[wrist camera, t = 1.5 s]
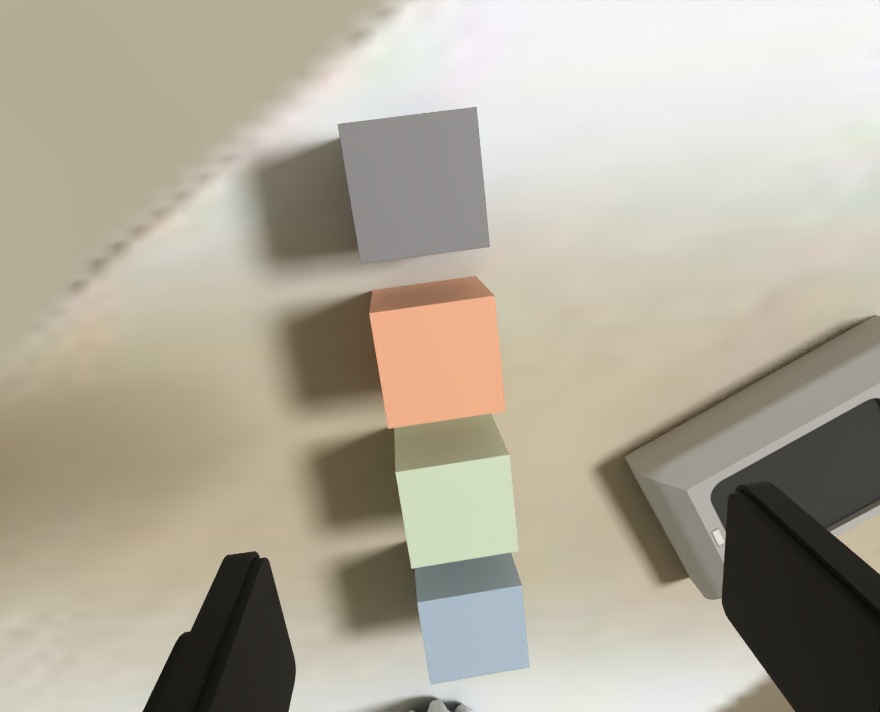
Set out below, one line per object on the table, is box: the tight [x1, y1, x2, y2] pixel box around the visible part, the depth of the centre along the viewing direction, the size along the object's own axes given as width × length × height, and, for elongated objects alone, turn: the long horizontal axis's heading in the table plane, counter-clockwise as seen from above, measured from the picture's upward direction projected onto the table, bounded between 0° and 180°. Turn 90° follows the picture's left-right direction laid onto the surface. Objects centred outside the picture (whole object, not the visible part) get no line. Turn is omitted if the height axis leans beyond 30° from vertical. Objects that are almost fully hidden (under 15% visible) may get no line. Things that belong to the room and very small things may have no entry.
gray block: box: [338, 107, 490, 264], centre depth 23 cm, size 5×5×5 cm
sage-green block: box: [394, 413, 519, 569], centre depth 27 cm, size 5×5×5 cm
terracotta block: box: [369, 276, 505, 429], centre depth 25 cm, size 5×5×5 cm
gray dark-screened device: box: [624, 315, 880, 600], centre depth 30 cm, size 10×4×15 cm
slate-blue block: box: [415, 552, 529, 684], centre depth 29 cm, size 5×5×5 cm
